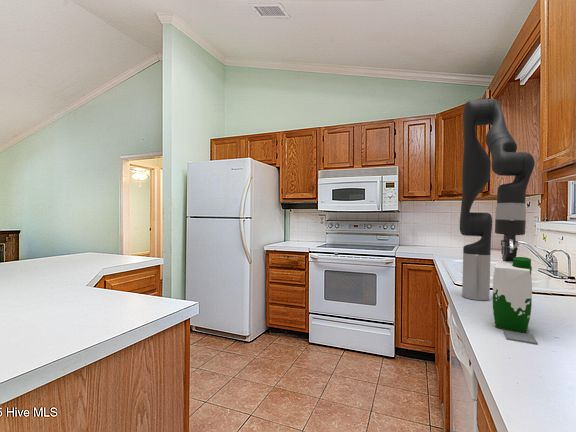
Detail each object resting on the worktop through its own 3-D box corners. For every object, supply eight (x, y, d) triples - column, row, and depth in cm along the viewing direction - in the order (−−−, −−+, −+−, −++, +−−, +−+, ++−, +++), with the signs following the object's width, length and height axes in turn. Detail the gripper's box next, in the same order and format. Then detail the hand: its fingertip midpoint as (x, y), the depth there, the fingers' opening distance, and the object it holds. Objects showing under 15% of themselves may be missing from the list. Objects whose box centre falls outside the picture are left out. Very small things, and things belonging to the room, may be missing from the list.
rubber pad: (503, 331, 88) (503, 329, 88) (532, 336, 85) (532, 334, 85) (506, 339, 83) (506, 337, 83) (537, 344, 80) (537, 343, 80)
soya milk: (530, 336, 86) (532, 263, 83) (490, 327, 91) (491, 260, 89) (531, 322, 93) (533, 255, 90) (494, 316, 98) (495, 252, 96)
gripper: (493, 218, 104) (491, 271, 104) (497, 218, 92) (495, 278, 92) (521, 219, 100) (519, 274, 100) (529, 219, 88) (527, 281, 89)
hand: (507, 276), depth 96 cm, fingers closed
